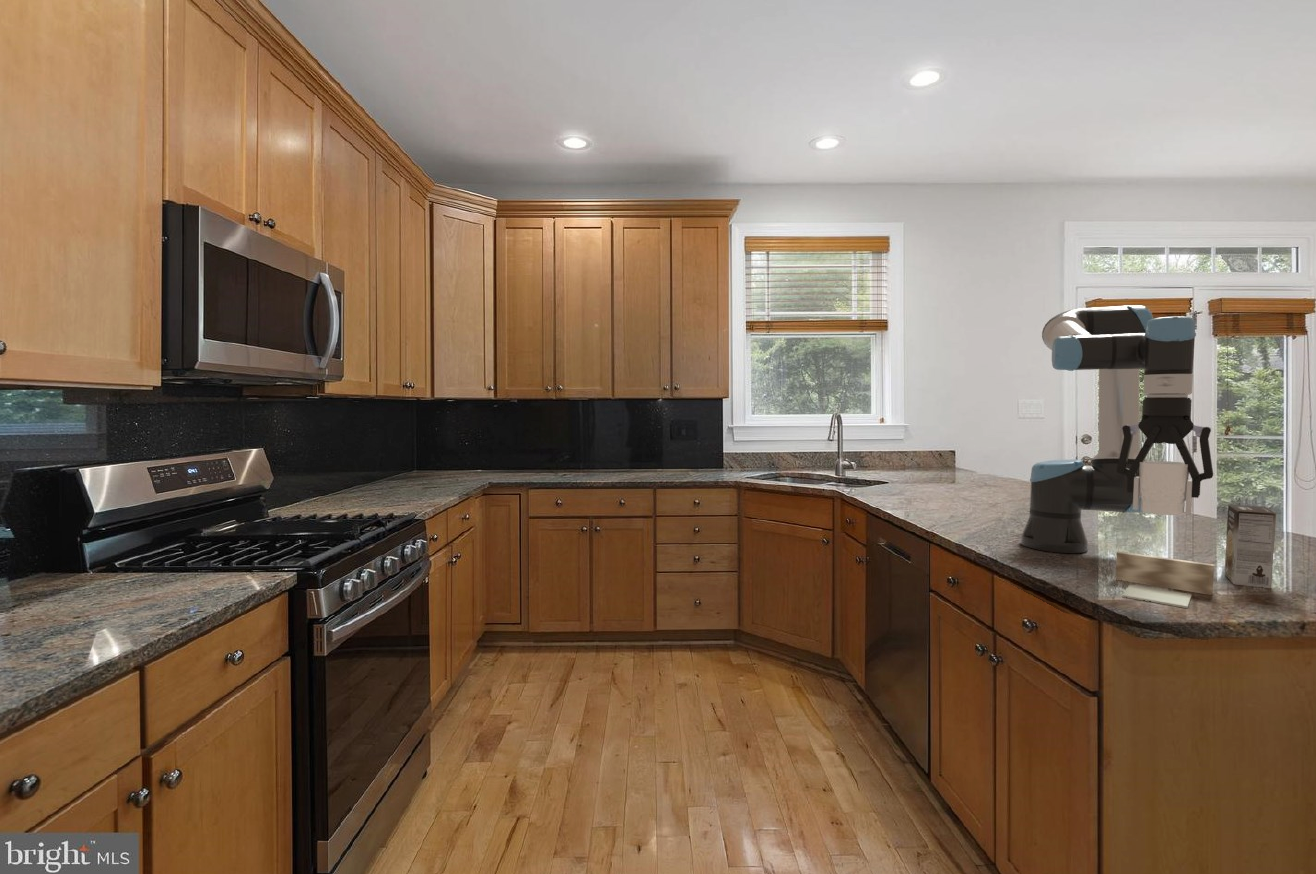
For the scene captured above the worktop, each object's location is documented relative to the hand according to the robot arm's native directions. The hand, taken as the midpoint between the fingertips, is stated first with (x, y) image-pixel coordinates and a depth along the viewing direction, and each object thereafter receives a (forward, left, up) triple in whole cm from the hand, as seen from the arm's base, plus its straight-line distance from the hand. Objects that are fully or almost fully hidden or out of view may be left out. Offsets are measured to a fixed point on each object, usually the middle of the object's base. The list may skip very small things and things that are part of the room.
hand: (1161, 511), depth 125 cm
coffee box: (+13, +26, -18) cm, 34 cm away
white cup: (0, 0, 0) cm, 0 cm away
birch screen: (0, +9, -17) cm, 20 cm away
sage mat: (0, 0, -17) cm, 17 cm away
